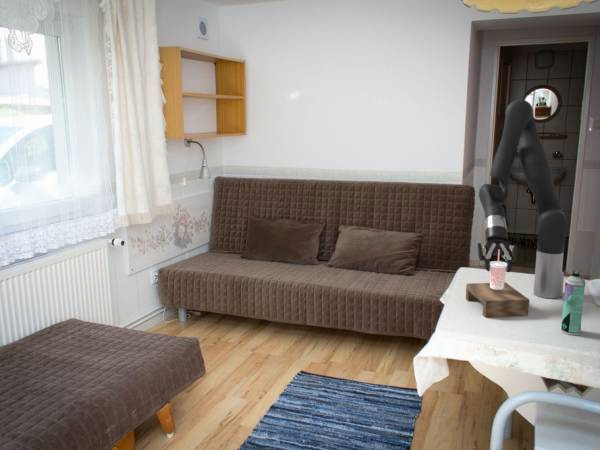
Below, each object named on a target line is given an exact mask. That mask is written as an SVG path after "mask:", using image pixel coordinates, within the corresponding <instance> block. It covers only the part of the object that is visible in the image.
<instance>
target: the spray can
mask: <svg viewBox="0 0 600 450" xmlns="http://www.w3.org/2000/svg"><path fill="white" fill-rule="evenodd" d="M585 281H586V280H585V279H584V278H582V276H581V275H580V271H577V270H573V271H572V274H570V276H568V277H566V278H565V281H564V282H565V284H564V295H563V305H562V307H563V308H562V317H561V329H560V331H561V333H562V334H565V335H566V336H567V335H568V336H578V335H581V330H582V329H581V328H582V320H583V319H582V317H583V307H584V299H585V298H584V297H585V290H586V289H585V287H586V282H585Z"/></svg>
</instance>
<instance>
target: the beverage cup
mask: <svg viewBox="0 0 600 450" xmlns="http://www.w3.org/2000/svg"><path fill="white" fill-rule="evenodd" d="M499 254H500V250H498V255H497V260H494V261H493V260H492V261H490V271H489V283H490V288H492V289H496V290H501V289H503V288H504V282H505V279H506V274H507V262H506V261H502V260H500V256H499Z"/></svg>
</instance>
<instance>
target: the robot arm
mask: <svg viewBox="0 0 600 450" xmlns="http://www.w3.org/2000/svg"><path fill="white" fill-rule="evenodd" d="M505 109H506V110H505V113H504V114H505V118H504V125H503V131H502V135H501V140H500V143H499V145H498V148H497V151H496V154H495V156H494V159H493V163H492V166H491V169H490V173H489V176H490V177H491V178H492V179H494V180H496V181H498V183H499V185H496V184H491V183H484V184H483V185H481V186H480V187H479V190H478V198H479V202H480V204H481V207H482V209H483V211H484V220H485V222H484V234H485V243H480V242H479V243H477V246H476V249H477V255H478V259H479V261H480V262H481V261H482V262H484V270H486V271H487V272H490V262H491V261H490V259H491V258H492V256H498V250H500V254H499V257H502V258H503V259H504V260H505V263H507V267H506V273H510V272H511V271H512V268H513V265H512V262H513V263H516V260H517V258H518V244H514V245H511V244H509V242H508V230H507V229H508V226H507V222H506V214H505V208H504V207H503V206H502V205H504V204H505V203H506V202H507V200H508V198H509V185H510V184H509V182H510V175H511V171H512V169H513V166H514V163H515V160H516V155H517V150H518V154H519V155H518V156H519V161H520V165H521V169H522V171H523V174H524V175H523V176H524V178H525V181H526V182H527V186H528V187H529V190H530V191H531V193H532V195H533V198H534V201H535V204H536V209H537V213H538V214H537V215H538V234H537V244H536V246H537V247H536V256H535V257H536V258H535V269H534V281H533V294H534V296H536V297H538V298H539V297H540V298H542V299H543V298H544V299H558V298H560V297H563V291H564V282H565V281H564V279H565V272H564V271H563V263H564V252H565V246H566V239H567V237H566V235H567V229H568V228H567V225H568V222H567V216H566V215H565V213H564V211H563V209H562V207H561V205H560V203H559V199H558V197H557V194H556V191H555V184H554V178H553V177H554V176H553V171H552V169H551V168H552V167H551V165H550V164H551V163H550V161H549V158H548V156H547V153H546V150H545V148H544V145H543V143H542V141H541V139H540V136H539V134H538V130H537V126H536V121H535V117H534V108H533V106H532V105H531V103H530V102H529V101H527V100H524V99H517V100H514V101H511V102H510V103H508V105H507V107H506V108H505ZM484 248H485V250H486V251H487V253H486V255H484V251H483V250H484ZM508 250H510V251H511V252H512V255H511V256H510V254H509V251H508Z"/></svg>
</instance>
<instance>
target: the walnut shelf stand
mask: <svg viewBox="0 0 600 450" xmlns="http://www.w3.org/2000/svg"><path fill="white" fill-rule="evenodd" d="M465 285H466V287H465V300H466V301H467V302H477V301H478V302H480V303H481V304H483V305H482V316H483V317H484V318H486V319H487V318H509V317H511V318H512V317H528V316H529V309H530V298H528V297H526V295H524V294H522V293H521V292H519V291H518V290H517V289H516V288H514V287H513V286H511V285H510V284H509V283H508V282H505V281H504V288H503V289H501V290H496V289H492V288H490V282H480V283H478V282H475V283H466V284H465Z"/></svg>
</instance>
